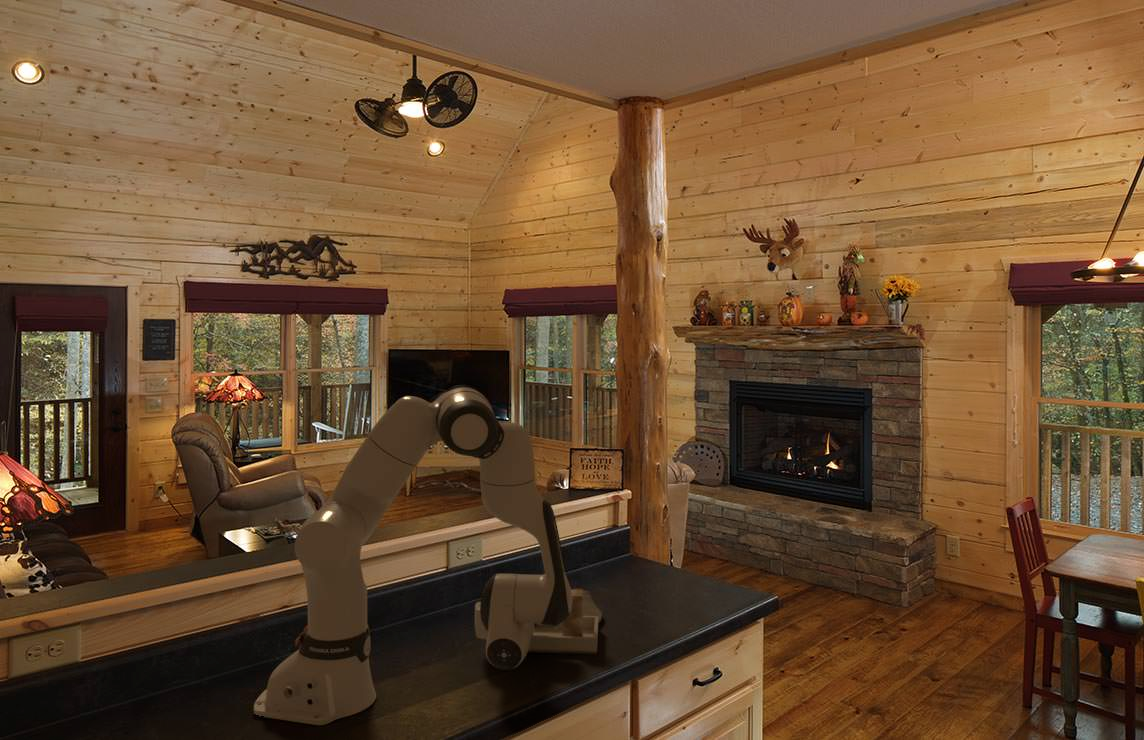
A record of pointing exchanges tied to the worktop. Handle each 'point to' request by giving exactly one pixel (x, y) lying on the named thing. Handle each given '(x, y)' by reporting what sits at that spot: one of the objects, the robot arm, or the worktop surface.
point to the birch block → (575, 616)
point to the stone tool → (590, 605)
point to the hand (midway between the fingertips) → (522, 602)
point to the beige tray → (567, 639)
